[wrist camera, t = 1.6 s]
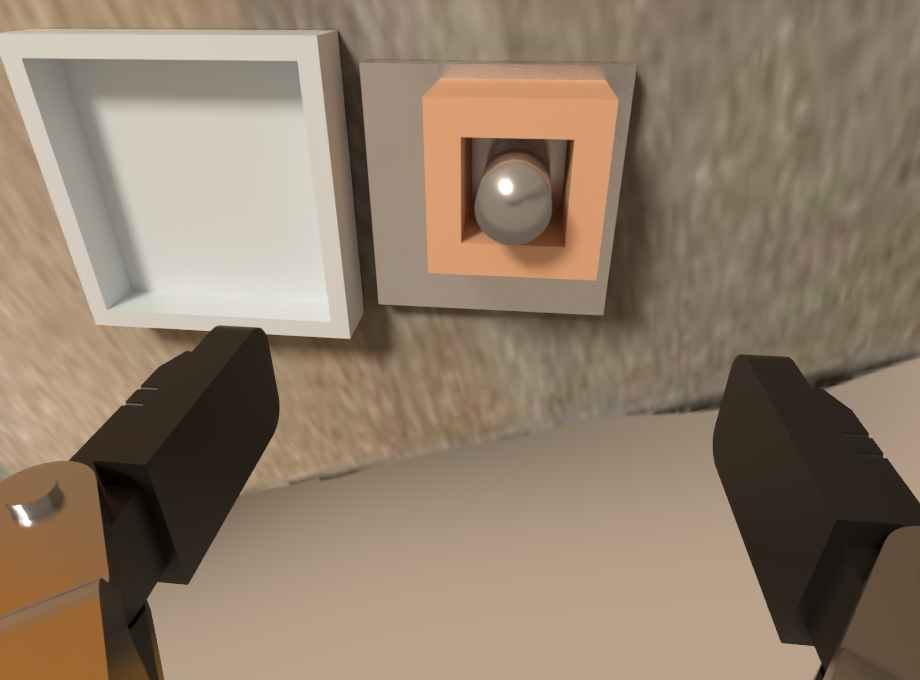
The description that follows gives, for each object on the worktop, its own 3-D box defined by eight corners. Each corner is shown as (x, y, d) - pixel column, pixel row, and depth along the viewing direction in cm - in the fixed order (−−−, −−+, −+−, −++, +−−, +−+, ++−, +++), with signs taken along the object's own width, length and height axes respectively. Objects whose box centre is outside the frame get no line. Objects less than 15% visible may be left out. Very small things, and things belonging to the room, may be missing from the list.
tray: (337, 29, 23) (316, 35, 21) (364, 312, 29) (350, 338, 27) (41, 28, 24) (-8, 33, 22) (127, 300, 30) (95, 324, 28)
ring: (606, 80, 22) (618, 99, 18) (588, 238, 25) (596, 280, 21) (440, 78, 22) (422, 96, 19) (443, 233, 25) (427, 272, 22)
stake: (633, 62, 22) (664, 90, 17) (601, 304, 27) (617, 387, 22) (365, 59, 23) (311, 85, 18) (383, 294, 28) (345, 371, 23)
